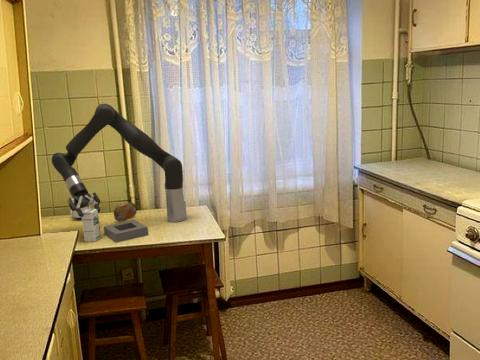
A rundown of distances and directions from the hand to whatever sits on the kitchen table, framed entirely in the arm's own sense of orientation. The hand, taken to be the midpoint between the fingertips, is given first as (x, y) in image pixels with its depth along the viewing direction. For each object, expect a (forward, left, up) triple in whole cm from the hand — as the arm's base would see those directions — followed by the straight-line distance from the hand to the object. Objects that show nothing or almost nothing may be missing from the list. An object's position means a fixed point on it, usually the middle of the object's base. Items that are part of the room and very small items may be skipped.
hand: (90, 214), depth 236 cm
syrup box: (0, -1, -13) cm, 13 cm away
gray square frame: (-15, +3, -13) cm, 20 cm away
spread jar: (-7, -43, -13) cm, 45 cm away
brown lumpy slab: (-25, -22, -13) cm, 36 cm away
